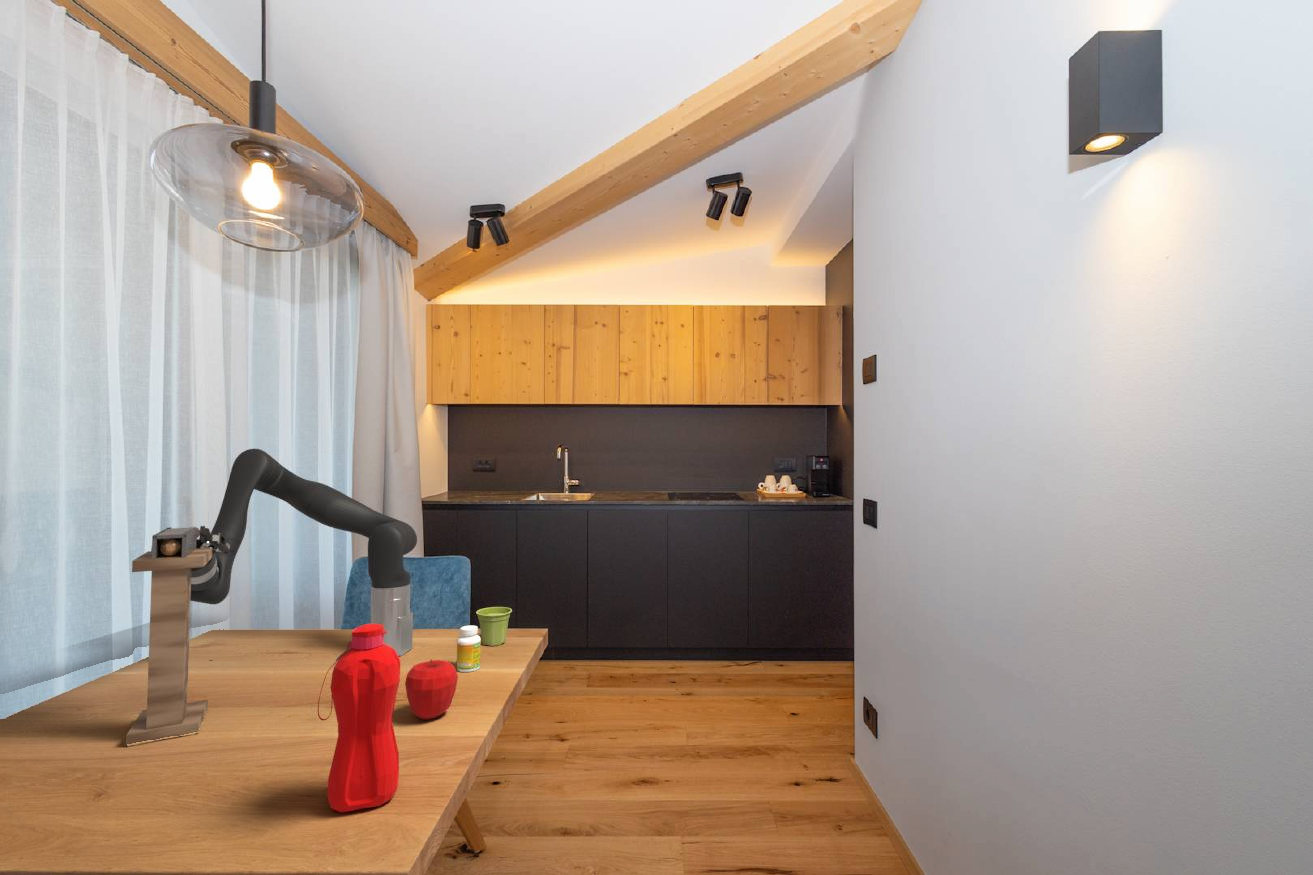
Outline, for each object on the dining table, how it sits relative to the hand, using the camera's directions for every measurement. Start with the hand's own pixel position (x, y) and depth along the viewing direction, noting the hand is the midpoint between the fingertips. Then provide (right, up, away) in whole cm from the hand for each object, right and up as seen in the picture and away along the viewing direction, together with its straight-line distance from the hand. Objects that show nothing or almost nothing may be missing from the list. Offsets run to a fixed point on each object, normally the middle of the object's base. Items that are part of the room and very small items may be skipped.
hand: (185, 531), depth 121 cm
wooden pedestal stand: (+5, -35, -10) cm, 37 cm away
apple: (+52, -35, -5) cm, 63 cm away
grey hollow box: (+5, -3, -9) cm, 11 cm away
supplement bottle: (+51, -36, +21) cm, 66 cm away
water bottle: (+52, -34, -33) cm, 70 cm away
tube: (+2, -3, -3) cm, 5 cm away
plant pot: (+52, -37, +41) cm, 76 cm away
